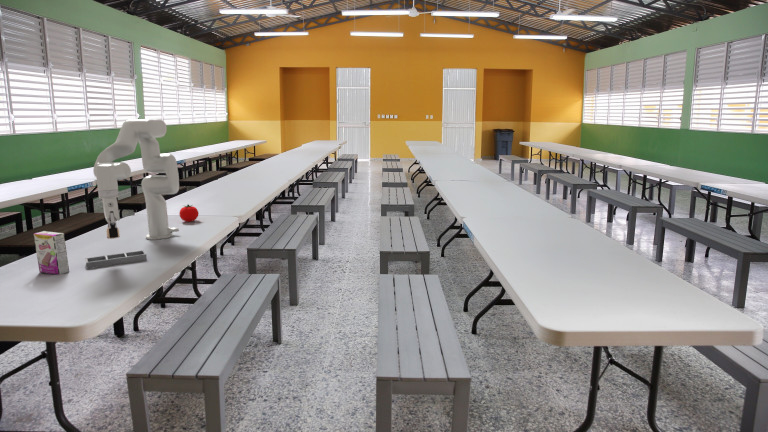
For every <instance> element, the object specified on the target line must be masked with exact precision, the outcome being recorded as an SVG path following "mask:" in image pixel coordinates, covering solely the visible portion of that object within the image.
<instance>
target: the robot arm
mask: <svg viewBox="0 0 768 432" xmlns="http://www.w3.org/2000/svg"><path fill="white" fill-rule="evenodd" d="M167 130H168V128H167V124H166V123H165V121H164V120H162V119H159V118H158V119H150V118H149V119H148V118H147V119H146V118H143V119H141V118H140V119H137V118H136V119H133V118H132V119H127V120H125V121H124V122H123V123H122V125H121V128H120V129H119V133H118V135H117V137H116V140H115V142H114V143H112V144H110V145H109V146H107V147H106V148H105V149H103V150H102V151H101V152H100V153H99V154H98V155H97V158H96V160H95V163H94V165H93V175H94V177H95V178H96V183H97V193H98V199H101V200H102V208H103V214H104V217H105V221H106V222H107V228H108V227H109V235H110V238H114V239H116V238H115V237H118V230H117V228H118V227H117V221H120V220H121V219H120V214H119V213H120V212H119V205H118V200H117V198H119V197H120V196H119V195H120V194H119V193H120V192H119V184H118V180H119V181H121V180H126V179H128V178H129V177H130V176H131V172H132V169H131V167H130V165H129V164H128V163H126V162H124V161H123V162H121V161H117V162H116V160H118V159H121V158H124V157H127V156H129V155H132V154H133V153H135V150H136V148H137V145H138V144H139V147H140V152H141V153H140V154H141V161H142V167H143V170H144V172H145V173H149V174H153V175H147V176H145V177H143V179H142V180H141V188H142V193H143V195H144V196H143V197H144V200H145V208H146V218H147V228H148V233H147V234H146V235H145V238H146V239H147V240H163V239H164V240H165V239H169V238H172V237H173V236H174V235H173V233H174V232H176V233H177V232H180V229H179V227H170V226H169V217H168V208H167V207H168V206H167V201H166V199H165V198H164V196H163V195H175V194H178V192H179V189H180V178H179V170H178V169H179V168H178V162H177V159H176V157H175V155H173V154H171V153H161V149H160V143H159V141H158V140H157V138H158V139H159V138H163V137H165V135H166V134H167ZM154 174H156V175H154ZM157 174H159V175H157ZM160 174H165V175H160Z"/></svg>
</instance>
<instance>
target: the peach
mask: <svg viewBox="0 0 768 432" xmlns="http://www.w3.org/2000/svg"><path fill="white" fill-rule="evenodd" d="M117 230H118V237H115V238H110V235H109V227H108V226H107V228H106V231H105V232H106V239H111V240H112V239H119V238H120V235H121V234H120V229H119V227H117Z"/></svg>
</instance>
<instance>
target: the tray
mask: <svg viewBox="0 0 768 432" xmlns="http://www.w3.org/2000/svg"><path fill="white" fill-rule="evenodd" d="M147 260H148V259H147V253H146V251H145V250H144V249H143V250H135V251H127V252H120V253H113V254H107V255H99V256H91V257H86V258H85V264H86V269H87V270H88V269H94V268H103V267H108V266H115V265H123V264H128V263H135V262H143V261H147Z"/></svg>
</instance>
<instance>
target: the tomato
mask: <svg viewBox="0 0 768 432" xmlns="http://www.w3.org/2000/svg"><path fill="white" fill-rule="evenodd" d="M182 206H183V207H181V208H180V210H179V214H178V215H179V217H180V219H181V220H182V221H184V222H186V223H189V222H190V223H191V221H192V222H194V221H196V219H198V217H199V210H198V209H197V207H195V206H194V205H193V204H191V205H190V204H186V205H182Z"/></svg>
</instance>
